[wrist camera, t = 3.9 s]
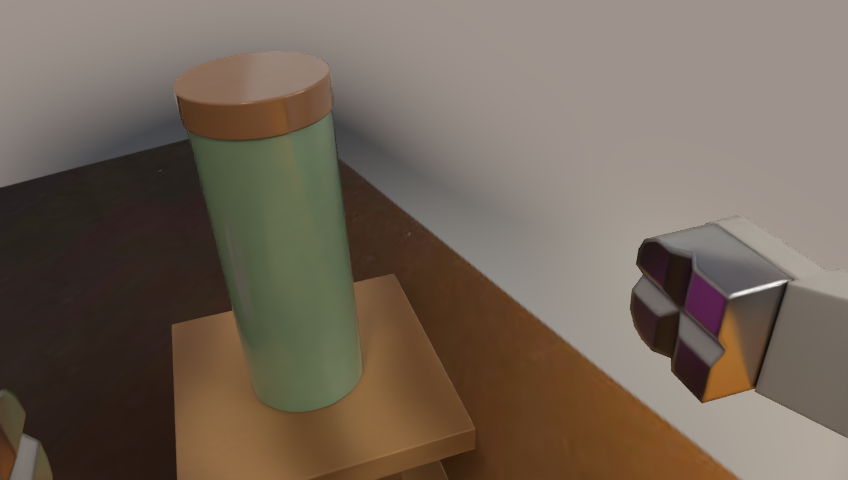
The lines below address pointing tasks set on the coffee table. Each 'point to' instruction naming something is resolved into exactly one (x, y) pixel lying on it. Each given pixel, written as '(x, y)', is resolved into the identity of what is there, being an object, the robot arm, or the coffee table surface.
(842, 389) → the robot arm
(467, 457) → the coffee table surface
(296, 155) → the jar
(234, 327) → the stand
